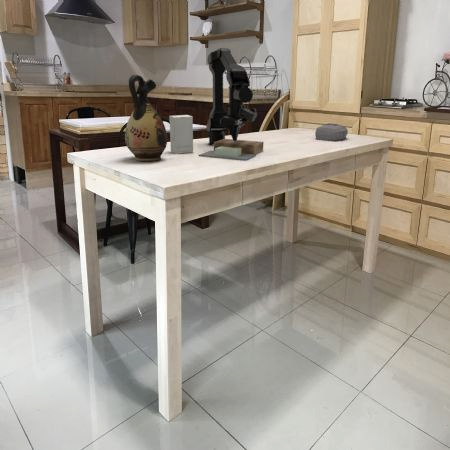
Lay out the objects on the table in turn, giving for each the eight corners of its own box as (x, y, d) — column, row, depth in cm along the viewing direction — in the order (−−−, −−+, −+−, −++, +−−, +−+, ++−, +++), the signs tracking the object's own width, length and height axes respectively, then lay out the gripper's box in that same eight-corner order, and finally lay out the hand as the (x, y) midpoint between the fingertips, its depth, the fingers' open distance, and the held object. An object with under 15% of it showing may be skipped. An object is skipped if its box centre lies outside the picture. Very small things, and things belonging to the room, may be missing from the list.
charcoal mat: (198, 156, 167) (198, 154, 167) (211, 151, 178) (211, 150, 177) (246, 160, 160) (246, 159, 160) (256, 155, 171) (256, 154, 170)
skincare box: (188, 150, 179) (188, 114, 174) (193, 153, 174) (193, 115, 169) (169, 151, 175) (168, 115, 170) (174, 154, 170) (173, 116, 165)
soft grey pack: (337, 142, 213) (352, 138, 229) (339, 125, 211) (353, 123, 226) (310, 139, 222) (326, 136, 237) (311, 123, 219) (327, 120, 234)
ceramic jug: (144, 154, 168) (141, 74, 158) (176, 158, 161) (174, 75, 151) (114, 160, 154) (108, 73, 144) (146, 165, 147) (143, 74, 137)
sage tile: (220, 146, 172) (220, 152, 173) (214, 148, 167) (214, 154, 168) (241, 148, 169) (241, 154, 170) (235, 150, 164) (235, 156, 164)
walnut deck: (213, 151, 178) (213, 142, 176) (224, 147, 188) (224, 138, 187) (254, 155, 171) (254, 145, 170) (263, 151, 182) (263, 141, 180)
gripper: (247, 103, 157) (245, 145, 162) (262, 101, 174) (260, 139, 179) (219, 102, 161) (219, 143, 166) (237, 100, 178) (236, 137, 183)
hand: (234, 140), depth 173 cm, fingers closed
